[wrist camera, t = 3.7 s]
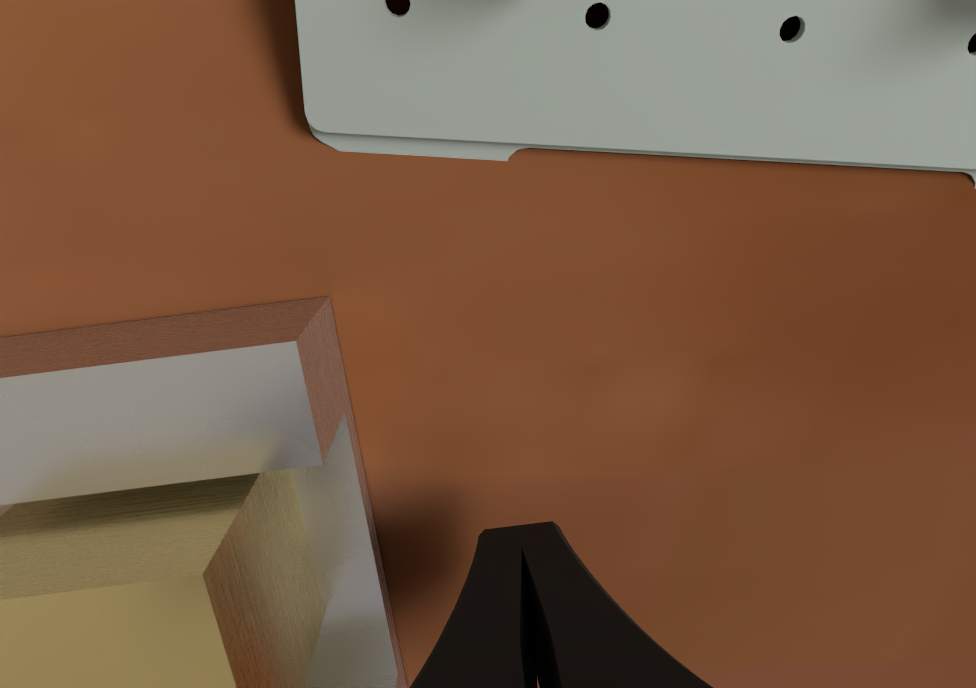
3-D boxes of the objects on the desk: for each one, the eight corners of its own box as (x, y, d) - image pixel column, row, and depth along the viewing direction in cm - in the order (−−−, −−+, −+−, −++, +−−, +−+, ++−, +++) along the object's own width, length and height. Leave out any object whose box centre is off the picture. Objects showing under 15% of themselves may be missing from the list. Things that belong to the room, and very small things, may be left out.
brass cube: (324, 614, 14) (272, 805, 10) (126, 639, 14) (-4, 841, 10) (282, 434, 12) (202, 574, 8) (63, 462, 12) (-114, 613, 8)
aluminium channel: (414, 722, 15) (405, 838, 13) (-114, 789, 15) (-224, 917, 13) (329, 296, 12) (296, 341, 10) (-334, 379, 12) (-538, 445, 10)
